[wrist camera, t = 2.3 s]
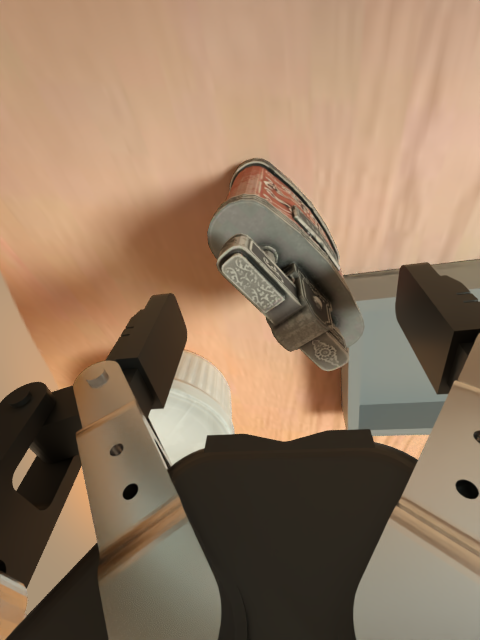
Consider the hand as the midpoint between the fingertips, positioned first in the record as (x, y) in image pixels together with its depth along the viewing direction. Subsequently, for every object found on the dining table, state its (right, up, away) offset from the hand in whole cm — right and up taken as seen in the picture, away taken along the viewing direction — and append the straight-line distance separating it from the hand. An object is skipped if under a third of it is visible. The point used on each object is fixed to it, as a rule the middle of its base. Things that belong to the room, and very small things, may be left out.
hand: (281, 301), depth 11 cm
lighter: (+1, +5, +7) cm, 9 cm away
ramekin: (-7, -6, +17) cm, 19 cm away
